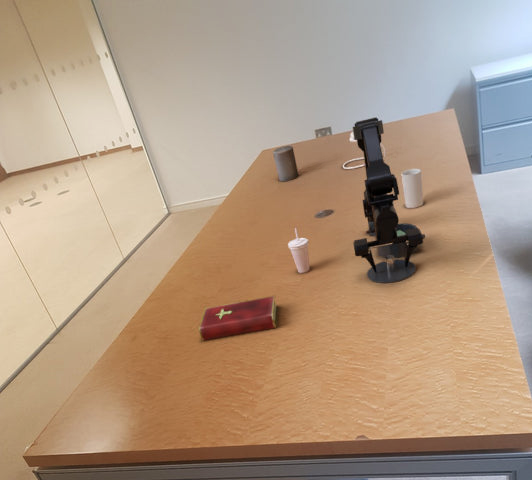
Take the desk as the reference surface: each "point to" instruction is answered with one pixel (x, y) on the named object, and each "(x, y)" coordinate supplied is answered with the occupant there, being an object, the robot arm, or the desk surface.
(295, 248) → the smoothie
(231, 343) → the desk surface
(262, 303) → the hardcover book
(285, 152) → the pillar candle
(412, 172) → the mug
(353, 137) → the earphone
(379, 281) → the lid
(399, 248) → the pot
